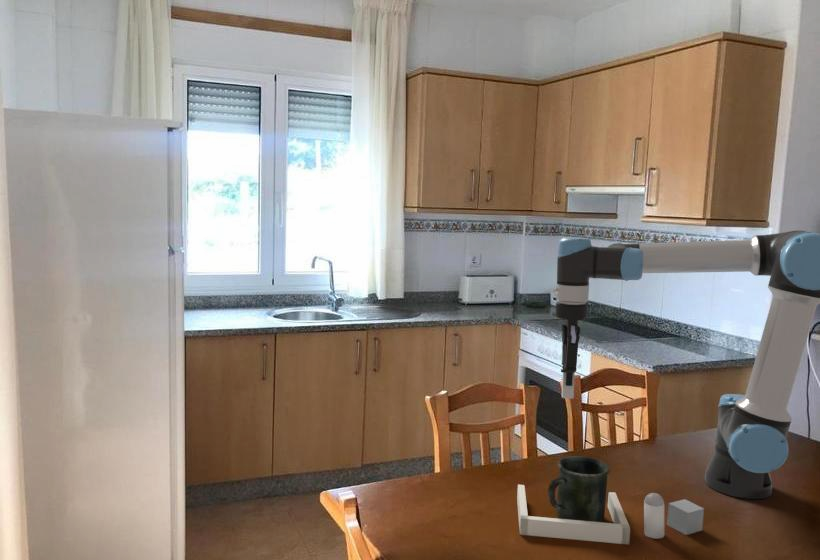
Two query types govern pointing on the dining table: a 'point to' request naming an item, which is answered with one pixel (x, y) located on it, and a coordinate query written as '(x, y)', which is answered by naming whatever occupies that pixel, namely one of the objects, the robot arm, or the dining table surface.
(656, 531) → the cylinder
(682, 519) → the grey box
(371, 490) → the dining table surface
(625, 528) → the corral
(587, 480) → the mug
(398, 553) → the dining table surface
